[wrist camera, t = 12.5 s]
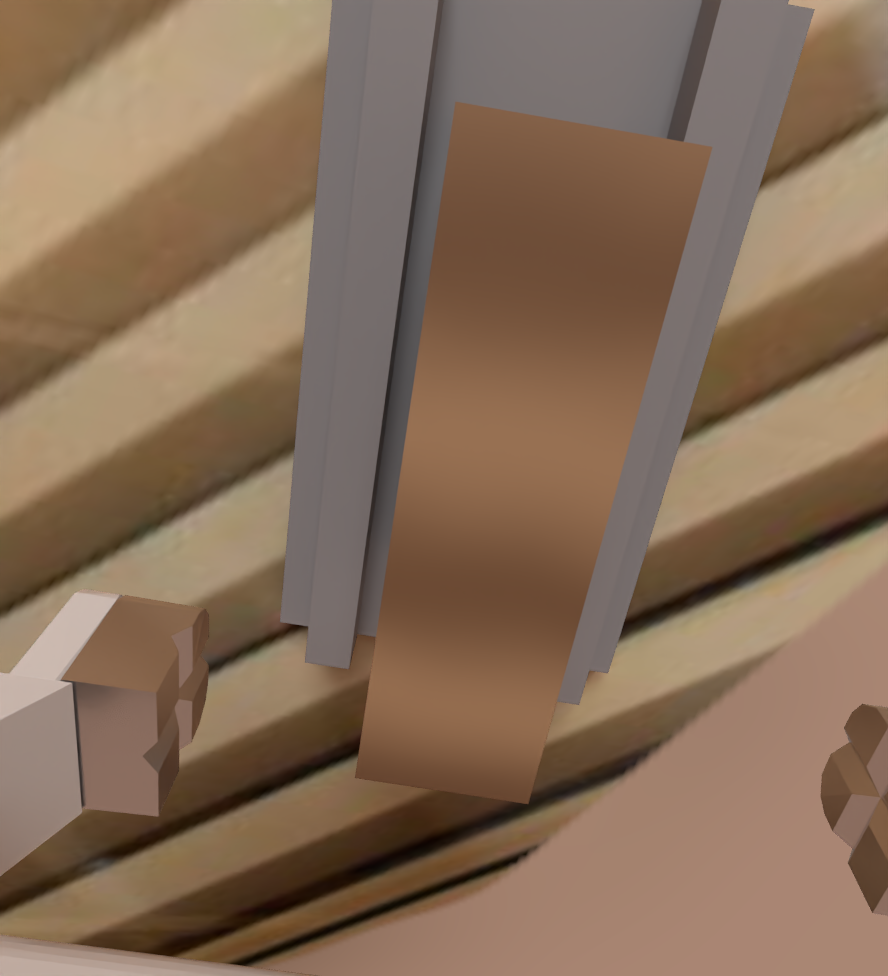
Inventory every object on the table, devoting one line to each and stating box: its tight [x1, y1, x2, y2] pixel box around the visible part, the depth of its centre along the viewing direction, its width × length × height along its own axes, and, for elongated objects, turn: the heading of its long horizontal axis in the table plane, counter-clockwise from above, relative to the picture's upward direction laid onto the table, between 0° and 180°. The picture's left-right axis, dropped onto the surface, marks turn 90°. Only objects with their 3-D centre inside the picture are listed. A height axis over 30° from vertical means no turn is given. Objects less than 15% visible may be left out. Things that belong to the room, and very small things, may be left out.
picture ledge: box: [280, 0, 815, 705], centre depth 24 cm, size 21×12×4 cm, turn 171°
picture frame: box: [355, 102, 713, 804], centre depth 20 cm, size 14×4×10 cm, turn 171°
